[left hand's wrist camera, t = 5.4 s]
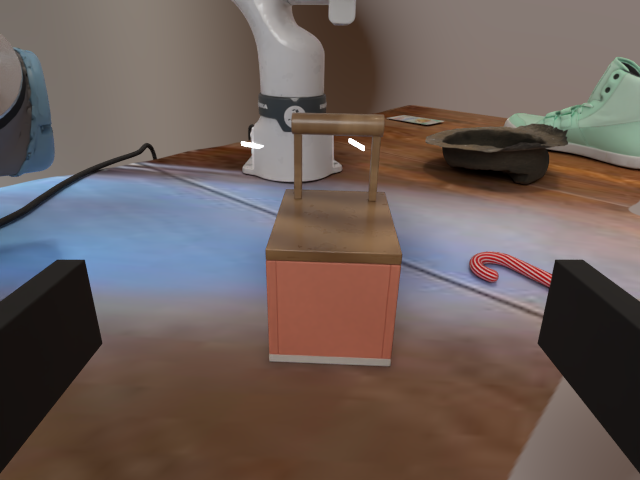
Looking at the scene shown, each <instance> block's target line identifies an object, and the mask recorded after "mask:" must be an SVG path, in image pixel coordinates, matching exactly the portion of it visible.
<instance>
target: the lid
mask: <svg viewBox="0 0 640 480" xmlns="http://www.w3.org/2000/svg"><path fill="white" fill-rule="evenodd" d="M291 130H292V134H294V189H286V191H285V194H284V197H283V200H282V203H281V206H280V209H279V211H278V214H277V217H276V220H275V223H274V226H273V229H272V232H271V235H270V238H269V241H268V244H267V247H266V260H284V261H313V262H341V263H369V264H398V265H400V264H401V261H402V252H401V248H400V245H399V241H398V238H397V234H396V231H395V227H394V224H393V220H392V216H391V213H390V209H389V206H388V202H387V199H386V195H385V192H377V181H378V168H379V155H380V142H381V137H382V136H383V133H384V115H372V114H334V113H295V112H293V113H292V118H291ZM302 135H339V136H372V149H371V163H370V178H369V192H361V191H328V190H302Z"/></svg>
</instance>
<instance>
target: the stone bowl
mask: <svg viewBox="0 0 640 480" xmlns="http://www.w3.org/2000/svg"><path fill="white" fill-rule="evenodd" d="M567 132H568V130H565V131H563V130H560V129H558V128H557V127H555V128H554V127H553V126H551V125H545V124H530V125H526V126H519V127H517V128H511V127H477V128H463V129H453V130H447V131H442V132H439V133H436V134H433V135H430V136H428V137H426V139H427V140H425V141H426V143H428V144H432V145H438V146H440V147H442V149H443V155H444V158H445V160H446V162H447V163H448V165H450V167H465V169H472V170H473V169H475V170H477V169H481V170H489V169H490V170H494V171H502V172H503V173H507V174H509V176H510V177H512V179H513V180H514V182H515V183H520V184H529V183H531V182H534V181H536V180H537V179H540V178H542V177H543V176H544V174H545V173H546V171H547V168H548V164H549V154H548V152H547V150H546V148H551V147H555V146H565V145H568V141H567V137H566V134H567Z"/></svg>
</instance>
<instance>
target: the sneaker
mask: <svg viewBox="0 0 640 480" xmlns="http://www.w3.org/2000/svg"><path fill="white" fill-rule="evenodd" d="M530 124H545V125H551V126H553V127H554V128H555V127H557V128H558V129H560V130H563V131H565V130H568V132H567V134H566V137H567V141H568V145H565V146H555V147H551V148H546V149H550V150H557V151H563V152H568V153H573V154H578V155H582V156H586V157H590V158H593V159H596V160H600V161H603V162H607V163H610V164H614V165H618V166H622V167H627V168H633V169H640V67H639V66H638V65H637V64H636V63H634V62H633V61H631V60H629V59H626V58H621V57H616V58H615V59H614V61H612V63H611V64H610V65H609V66H608V68H607V70H606V72H605V73H604V75H603V76H602V78H601V79H600V81H599V82H598V84H597V85H596V87H595V89H594V91H593V92H592V94H591V96H590V98H589V100H588V102H587V103H584V104H582V105H575V106H572V107H569V108H566V109H563V110H561V111H555V112H551V113H548V114H546V116H545V117H543V116H537V115H530V114H525V113H517V114H514V115H512V116H511V117H509V118H508V119H507V121H506V122H505V124H504V127H511V128H517V127H519V126H526V125H530Z"/></svg>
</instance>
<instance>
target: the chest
mask: <svg viewBox="0 0 640 480" xmlns="http://www.w3.org/2000/svg"><path fill="white" fill-rule="evenodd" d="M400 270H401V265H398V264H369V263H341V262H313V261H284V260H266V276H267V302H268V329H269V361H276V362H300V363H324V364H348V365H372V366H390V364H391V352H392V343H393V334H394V325H395V316H396V307H397V297H398V288H399V279H400Z"/></svg>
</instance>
